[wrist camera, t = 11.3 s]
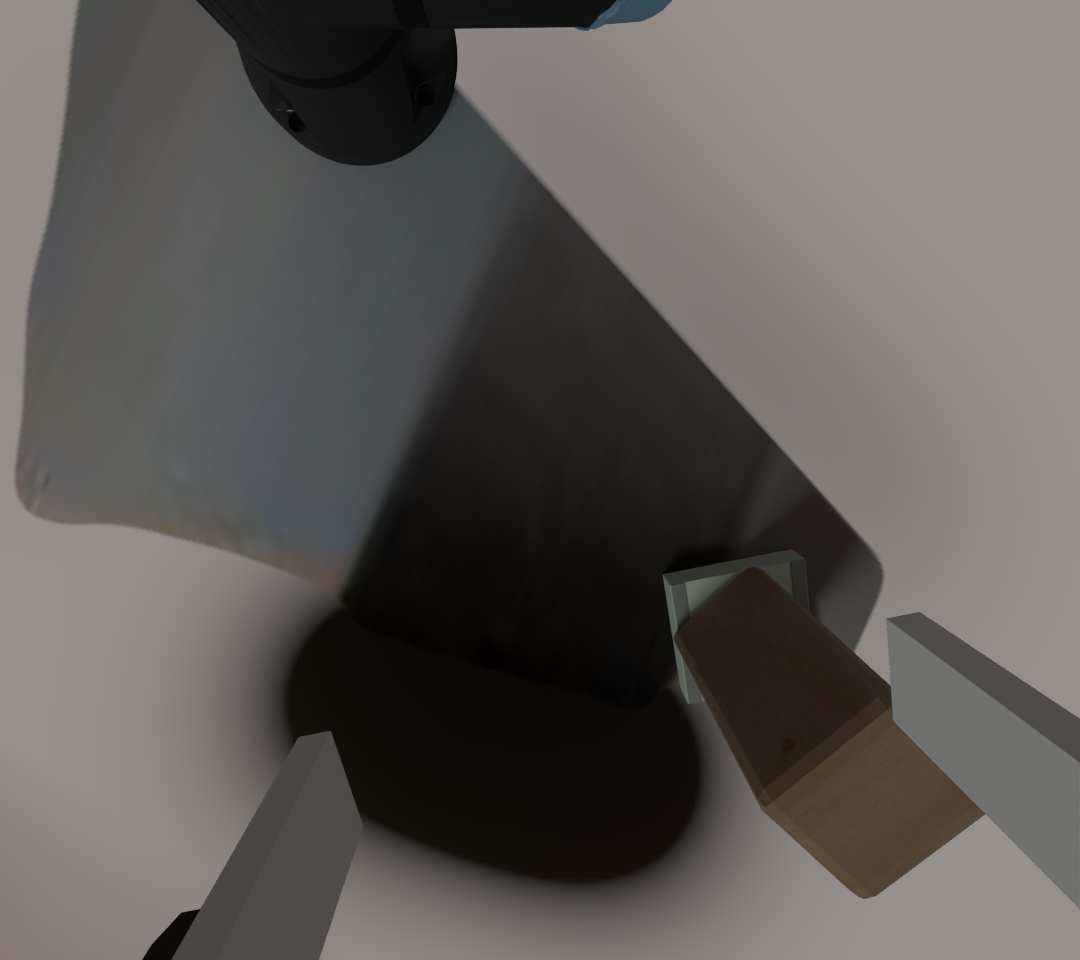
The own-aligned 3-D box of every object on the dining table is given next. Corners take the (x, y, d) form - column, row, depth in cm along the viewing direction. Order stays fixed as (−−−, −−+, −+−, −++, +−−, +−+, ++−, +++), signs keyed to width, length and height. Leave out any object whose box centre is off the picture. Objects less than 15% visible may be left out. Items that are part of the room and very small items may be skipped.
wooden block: (666, 633, 50) (757, 813, 31) (751, 558, 49) (904, 696, 29) (737, 702, 52) (867, 914, 32) (821, 631, 50) (1010, 808, 31)
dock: (662, 574, 52) (670, 585, 49) (791, 548, 51) (805, 559, 49) (680, 687, 54) (688, 704, 52) (802, 664, 54) (816, 679, 52)
